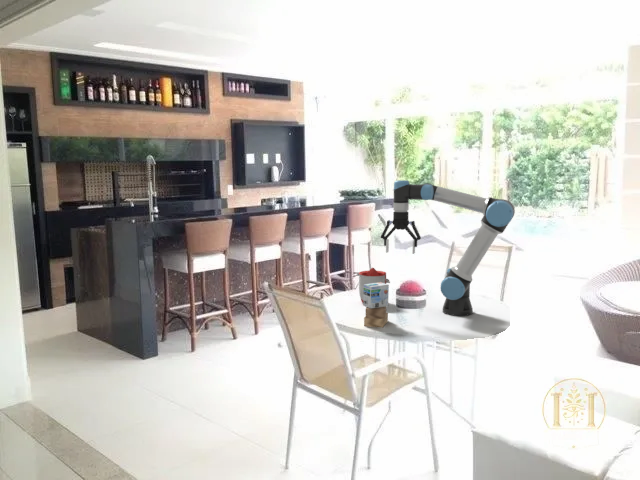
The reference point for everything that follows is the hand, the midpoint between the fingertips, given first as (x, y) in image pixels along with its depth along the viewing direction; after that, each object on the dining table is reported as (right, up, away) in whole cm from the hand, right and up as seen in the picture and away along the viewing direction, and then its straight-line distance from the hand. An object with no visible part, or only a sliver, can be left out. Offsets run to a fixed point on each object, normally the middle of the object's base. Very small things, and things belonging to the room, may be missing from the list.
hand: (400, 252), depth 297 cm
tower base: (-14, -34, -14) cm, 39 cm away
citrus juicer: (-11, -29, +27) cm, 41 cm away
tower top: (-14, -30, -14) cm, 36 cm away
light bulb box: (-14, -26, -15) cm, 33 cm away
